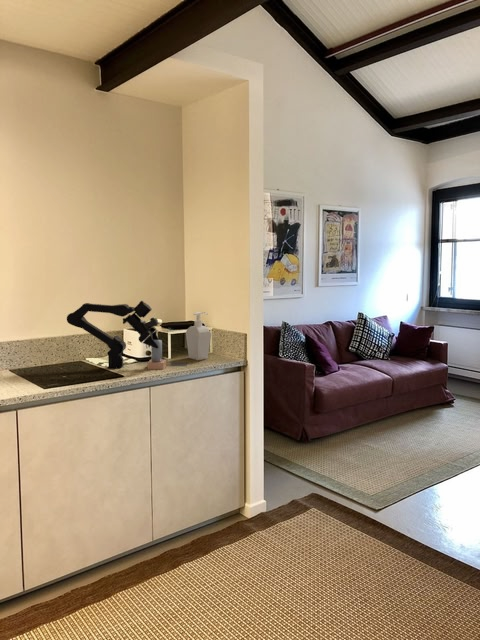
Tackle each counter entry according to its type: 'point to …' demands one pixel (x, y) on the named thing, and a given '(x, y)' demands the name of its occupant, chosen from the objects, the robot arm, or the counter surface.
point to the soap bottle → (198, 339)
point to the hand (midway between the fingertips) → (159, 346)
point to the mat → (178, 364)
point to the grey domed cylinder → (157, 352)
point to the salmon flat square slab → (156, 365)
